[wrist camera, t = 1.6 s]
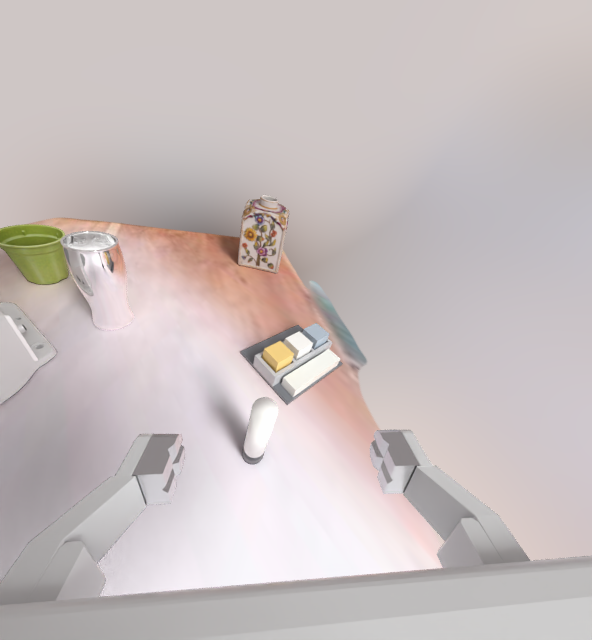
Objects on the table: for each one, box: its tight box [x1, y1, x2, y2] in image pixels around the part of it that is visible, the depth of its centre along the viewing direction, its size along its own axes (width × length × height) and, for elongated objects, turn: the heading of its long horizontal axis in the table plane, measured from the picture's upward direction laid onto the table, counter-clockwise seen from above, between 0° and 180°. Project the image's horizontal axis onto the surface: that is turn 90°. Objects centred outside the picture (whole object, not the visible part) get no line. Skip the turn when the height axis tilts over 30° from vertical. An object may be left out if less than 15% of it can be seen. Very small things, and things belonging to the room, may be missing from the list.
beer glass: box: [60, 231, 134, 331], centre depth 40 cm, size 7×7×15 cm
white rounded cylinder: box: [242, 397, 278, 464], centre depth 29 cm, size 3×3×11 cm
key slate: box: [302, 323, 329, 350], centre depth 48 cm, size 4×4×3 cm
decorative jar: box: [238, 195, 289, 273], centre depth 69 cm, size 12×12×18 cm
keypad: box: [241, 325, 343, 405], centre depth 46 cm, size 13×15×3 cm
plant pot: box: [0, 224, 68, 284], centre depth 46 cm, size 9×9×9 cm
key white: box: [284, 331, 313, 361], centre depth 45 cm, size 4×4×3 cm
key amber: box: [262, 341, 294, 373], centre depth 42 cm, size 4×4×3 cm
